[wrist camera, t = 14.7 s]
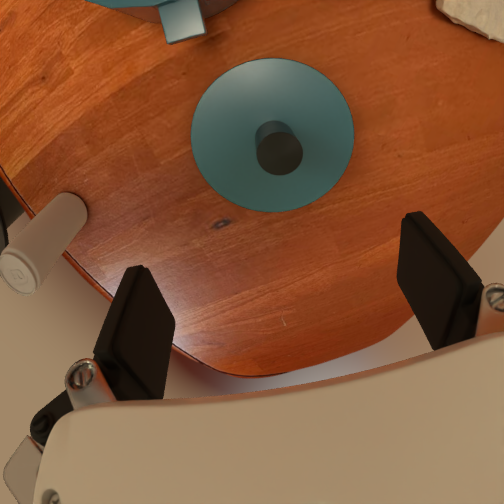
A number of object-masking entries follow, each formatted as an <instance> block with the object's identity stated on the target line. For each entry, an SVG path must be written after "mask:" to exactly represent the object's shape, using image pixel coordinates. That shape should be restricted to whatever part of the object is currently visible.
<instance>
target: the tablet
mask: <svg viewBox="0 0 504 504" xmlns="http://www.w3.org/2000/svg"><path fill="white" fill-rule="evenodd" d="M436 8H437V9H438V10H439V11H440V12H442V13H443V14H445V15H446V16H447V17H448V18H449V19H450V20H451V21H452V22H453V23H456V24H461V25H463V26H465V27H466V28H467V29H469V30H471V31H473V32H476V33H478V34H482V35H483V36H485V37H487V38H488V39H489V40H490V39H494V40H496V41H499V42H501V43H504V0H436Z"/></svg>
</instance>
